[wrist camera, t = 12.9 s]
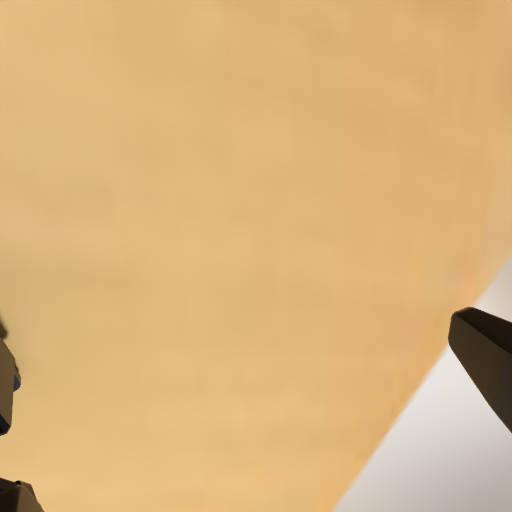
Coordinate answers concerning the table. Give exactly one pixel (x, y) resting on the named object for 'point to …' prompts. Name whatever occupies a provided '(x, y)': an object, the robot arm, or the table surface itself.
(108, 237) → the table surface
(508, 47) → the table surface
